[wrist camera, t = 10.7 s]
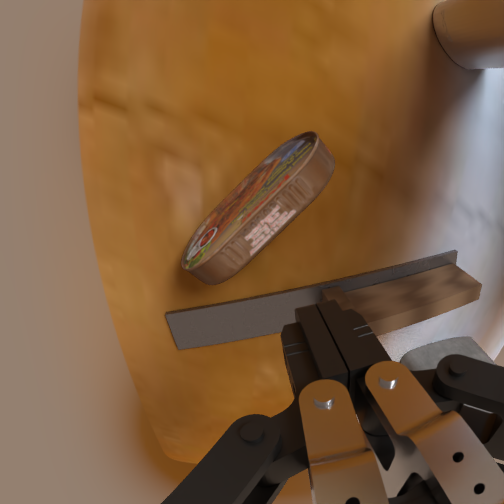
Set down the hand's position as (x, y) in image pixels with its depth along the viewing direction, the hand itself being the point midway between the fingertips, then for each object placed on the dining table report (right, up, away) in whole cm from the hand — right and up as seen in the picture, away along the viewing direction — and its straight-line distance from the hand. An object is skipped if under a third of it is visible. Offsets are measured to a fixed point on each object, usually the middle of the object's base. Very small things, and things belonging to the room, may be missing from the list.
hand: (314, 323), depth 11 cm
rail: (+6, -3, +22) cm, 23 cm away
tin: (-3, +8, +17) cm, 19 cm away
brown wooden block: (+15, -1, +23) cm, 27 cm away
